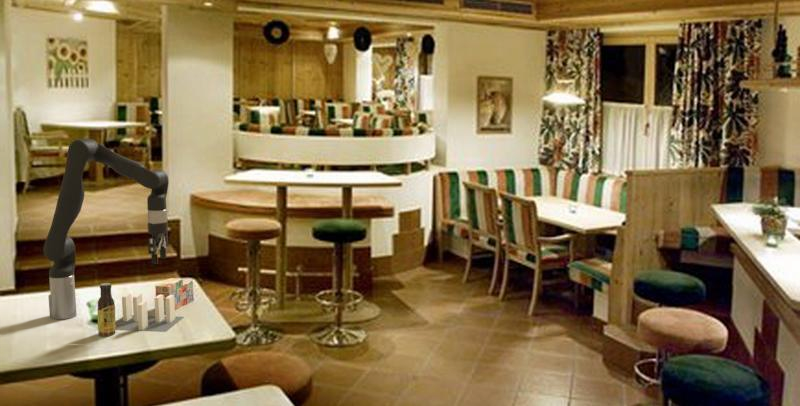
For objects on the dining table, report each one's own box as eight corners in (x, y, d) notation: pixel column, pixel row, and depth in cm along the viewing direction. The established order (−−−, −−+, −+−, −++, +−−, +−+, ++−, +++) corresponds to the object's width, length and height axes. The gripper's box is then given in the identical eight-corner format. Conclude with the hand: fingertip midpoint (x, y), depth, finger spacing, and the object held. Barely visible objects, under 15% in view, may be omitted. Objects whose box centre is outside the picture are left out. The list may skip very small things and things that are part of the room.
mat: (103, 330, 294) (103, 329, 294) (125, 315, 313) (125, 314, 312) (165, 332, 292) (165, 331, 291) (184, 317, 310) (184, 316, 310)
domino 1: (123, 320, 304) (121, 296, 303) (128, 317, 309) (127, 293, 308) (126, 321, 304) (125, 296, 303) (132, 317, 309) (131, 293, 308)
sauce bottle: (105, 338, 284) (102, 287, 281) (94, 335, 288) (91, 285, 284) (120, 334, 290) (117, 283, 287) (109, 331, 293) (106, 281, 290)
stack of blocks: (180, 299, 336) (179, 272, 335) (193, 300, 335) (192, 273, 333) (156, 313, 316) (154, 285, 314) (170, 314, 315) (168, 286, 313)
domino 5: (166, 322, 303) (165, 298, 301) (171, 318, 308) (170, 294, 306) (170, 322, 303) (169, 298, 301) (175, 318, 307) (174, 294, 306)
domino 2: (133, 321, 304) (132, 297, 302) (139, 317, 309) (138, 293, 307) (137, 321, 304) (136, 297, 302) (143, 317, 309) (141, 293, 307)
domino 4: (155, 322, 303) (154, 297, 302) (160, 318, 308) (159, 294, 306) (159, 322, 303) (158, 298, 301) (164, 318, 308) (163, 294, 306)
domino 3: (138, 329, 294) (137, 304, 292) (144, 325, 298) (143, 301, 297) (142, 330, 293) (141, 305, 292) (148, 325, 298) (146, 301, 297)
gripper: (155, 217, 305) (156, 256, 307) (140, 223, 291) (142, 265, 293) (173, 217, 304) (174, 257, 307) (159, 224, 290) (161, 265, 293)
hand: (159, 261), depth 300 cm, fingers open, 8 cm apart
